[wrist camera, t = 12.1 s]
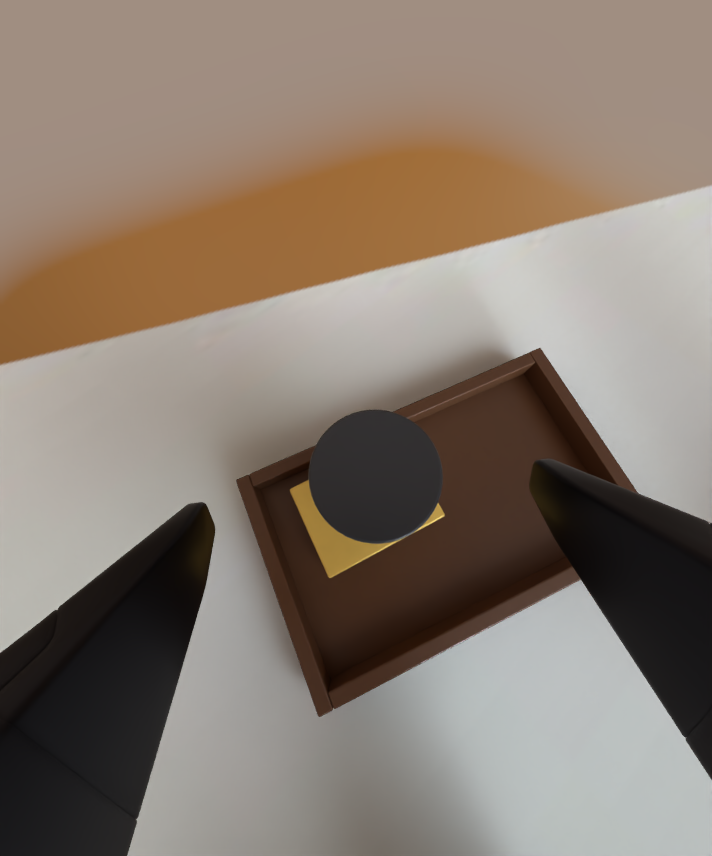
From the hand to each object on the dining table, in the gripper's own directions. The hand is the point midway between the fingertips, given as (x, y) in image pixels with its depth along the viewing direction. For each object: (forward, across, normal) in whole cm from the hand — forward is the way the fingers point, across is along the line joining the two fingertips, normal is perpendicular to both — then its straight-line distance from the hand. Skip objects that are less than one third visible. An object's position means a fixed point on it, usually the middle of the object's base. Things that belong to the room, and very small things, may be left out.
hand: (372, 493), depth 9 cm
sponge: (+7, 0, +6) cm, 9 cm away
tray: (+7, -4, +7) cm, 10 cm away
